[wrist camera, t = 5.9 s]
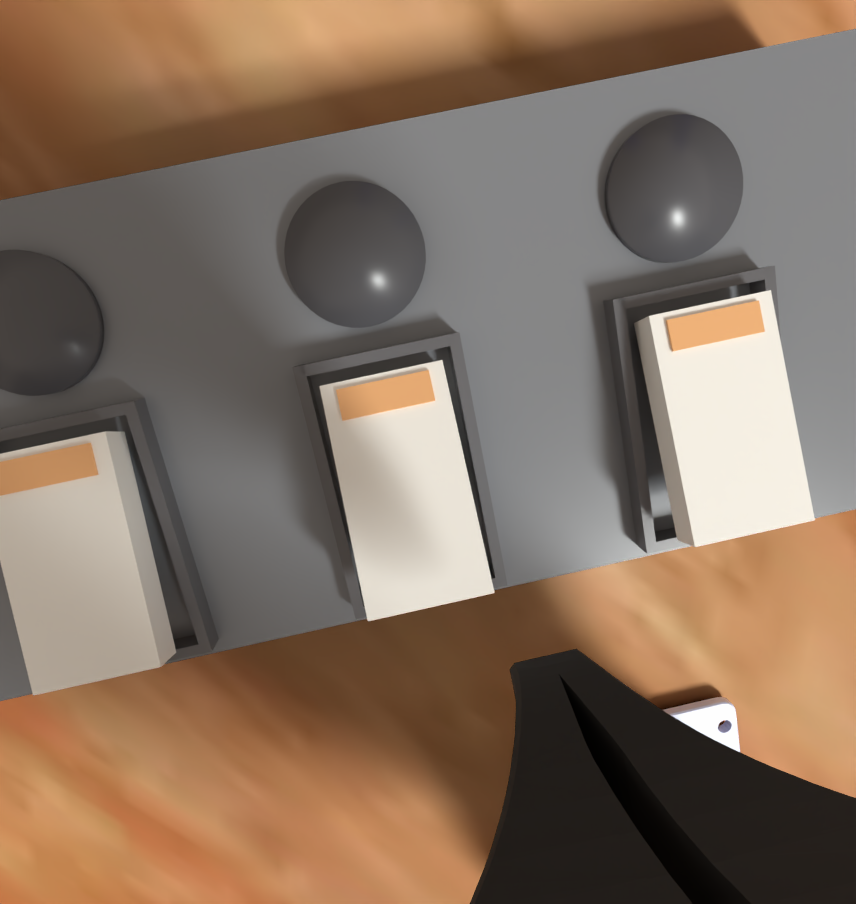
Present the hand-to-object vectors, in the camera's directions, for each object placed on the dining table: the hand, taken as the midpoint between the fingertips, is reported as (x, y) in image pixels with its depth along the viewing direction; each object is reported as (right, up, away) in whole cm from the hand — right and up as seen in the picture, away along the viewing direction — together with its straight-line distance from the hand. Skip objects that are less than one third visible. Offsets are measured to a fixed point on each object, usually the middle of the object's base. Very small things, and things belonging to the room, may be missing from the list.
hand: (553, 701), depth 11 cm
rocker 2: (+5, +6, +4) cm, 9 cm away
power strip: (0, +8, +8) cm, 11 cm away
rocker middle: (-3, +4, +4) cm, 6 cm away
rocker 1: (-11, +2, +4) cm, 12 cm away
